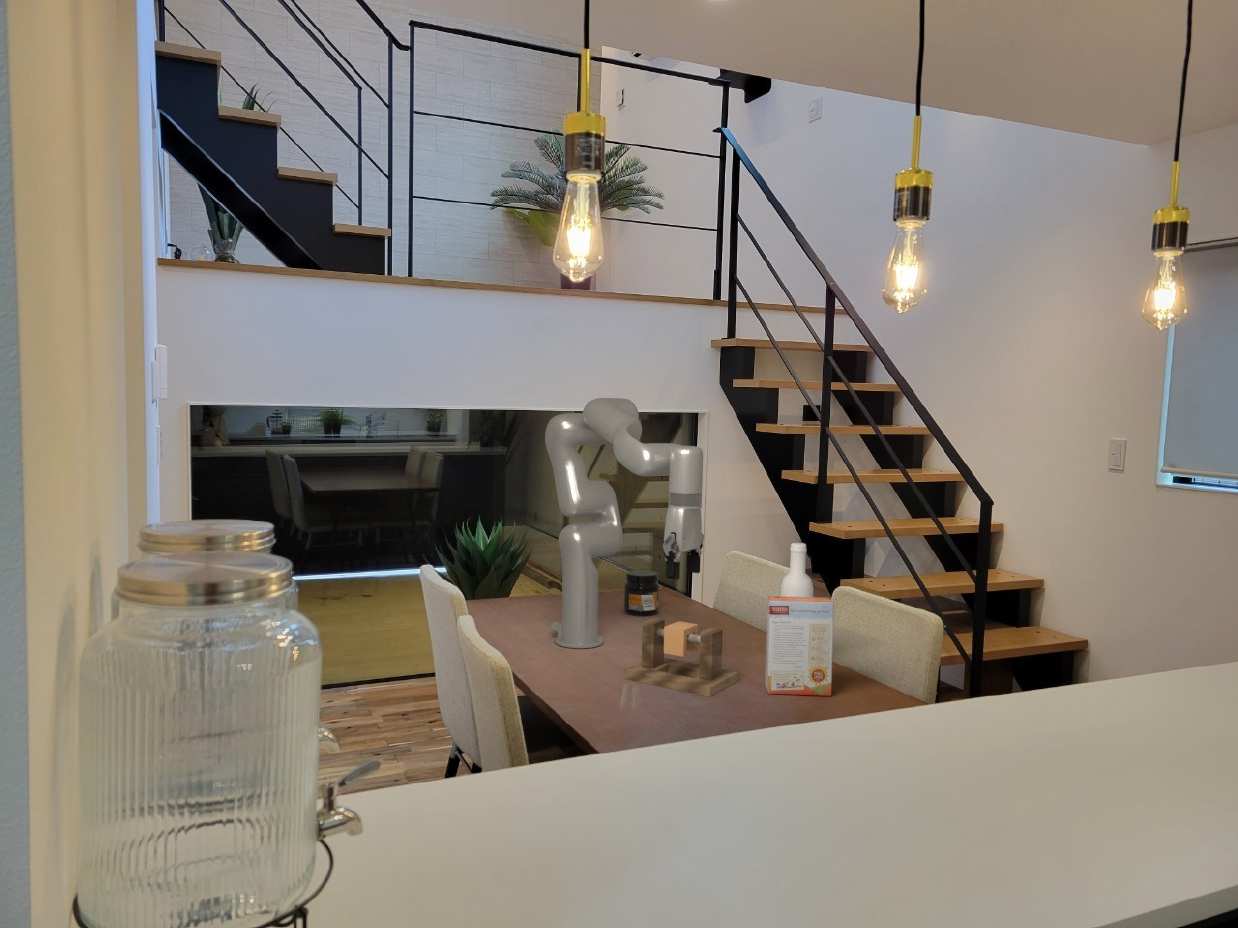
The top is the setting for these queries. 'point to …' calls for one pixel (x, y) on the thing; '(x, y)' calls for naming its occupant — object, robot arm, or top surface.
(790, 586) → the bottle
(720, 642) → the tan frame
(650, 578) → the supplement container
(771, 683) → the cracker box
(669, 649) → the notched block
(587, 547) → the robot arm
